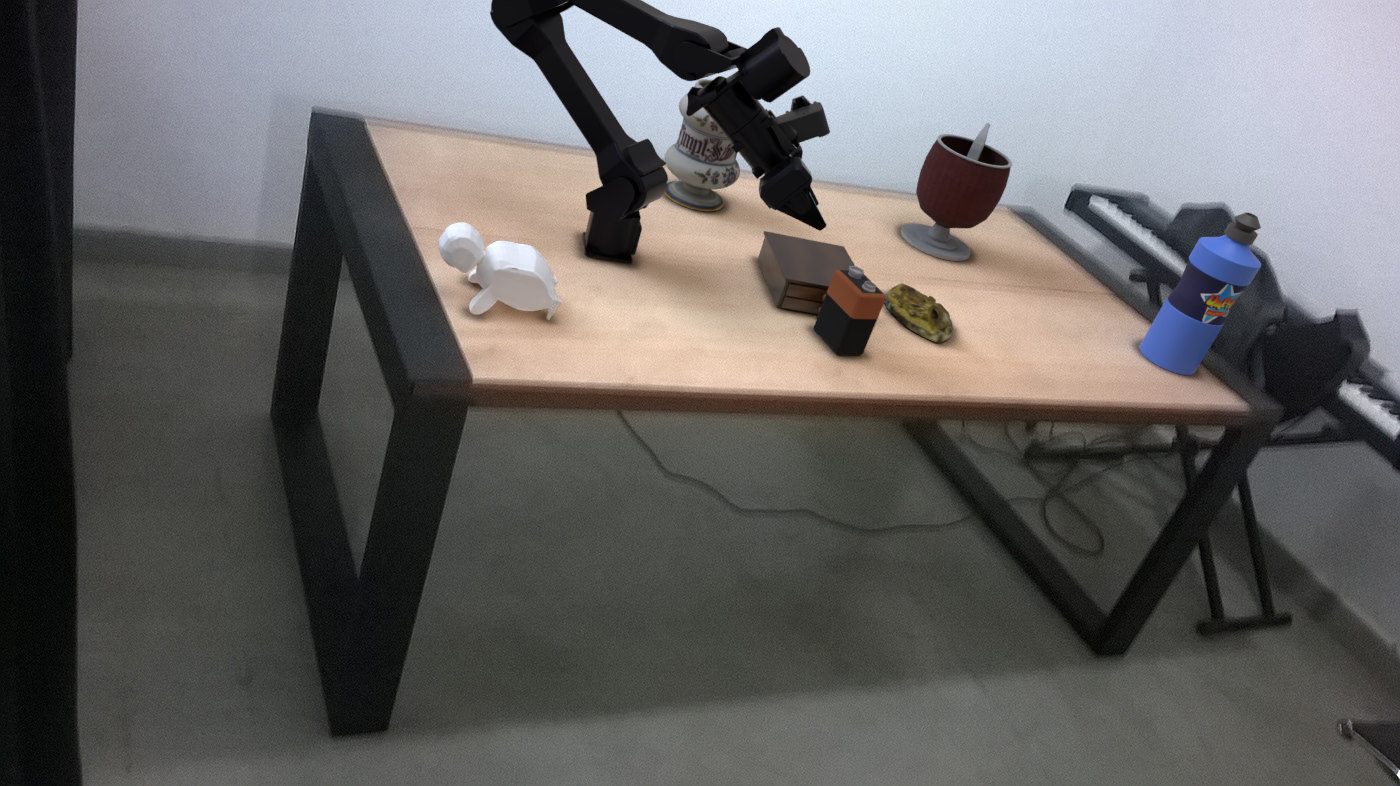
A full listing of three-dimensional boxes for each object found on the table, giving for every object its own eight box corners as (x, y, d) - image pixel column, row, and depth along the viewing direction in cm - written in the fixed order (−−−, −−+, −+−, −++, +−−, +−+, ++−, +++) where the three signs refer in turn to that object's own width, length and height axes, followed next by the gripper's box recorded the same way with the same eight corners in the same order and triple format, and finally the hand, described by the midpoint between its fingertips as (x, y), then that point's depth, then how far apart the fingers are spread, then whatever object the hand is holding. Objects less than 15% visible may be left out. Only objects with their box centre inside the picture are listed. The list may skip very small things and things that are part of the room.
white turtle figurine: (530, 309, 132) (420, 252, 124) (568, 257, 129) (458, 195, 121) (535, 346, 125) (419, 287, 118) (575, 291, 122) (459, 228, 115)
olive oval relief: (867, 293, 159) (911, 346, 148) (875, 265, 157) (920, 317, 145) (922, 293, 162) (969, 345, 151) (931, 266, 160) (979, 316, 148)
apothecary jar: (692, 178, 177) (722, 72, 167) (744, 210, 171) (778, 103, 162) (640, 184, 168) (669, 73, 159) (693, 218, 162) (726, 106, 153)
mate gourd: (967, 272, 175) (1018, 158, 165) (888, 239, 178) (934, 126, 167) (980, 244, 188) (1028, 138, 178) (906, 215, 191) (950, 108, 180)
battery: (837, 328, 144) (863, 263, 139) (863, 356, 139) (891, 290, 134) (811, 328, 142) (836, 262, 137) (836, 356, 137) (863, 289, 132)
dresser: (776, 311, 143) (787, 281, 141) (754, 258, 156) (764, 230, 154) (861, 326, 147) (873, 297, 144) (833, 273, 159) (844, 246, 157)
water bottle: (1207, 378, 165) (1297, 234, 152) (1159, 371, 162) (1246, 224, 149) (1174, 346, 173) (1256, 206, 160) (1127, 339, 170) (1207, 196, 157)
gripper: (804, 94, 120) (883, 199, 125) (790, 64, 136) (861, 158, 142) (726, 156, 123) (807, 256, 128) (722, 120, 139) (794, 209, 145)
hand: (819, 216), depth 136 cm, fingers open, 9 cm apart
